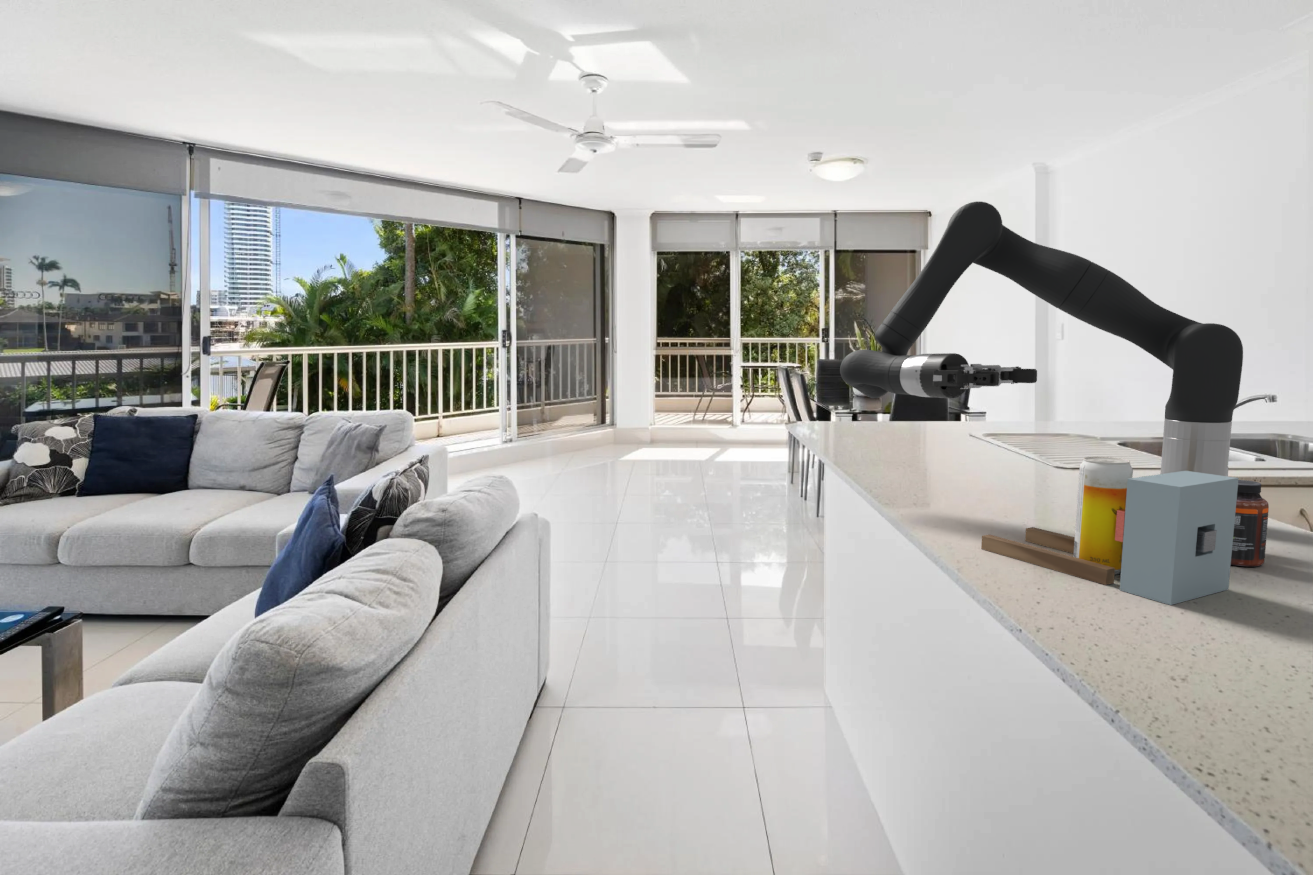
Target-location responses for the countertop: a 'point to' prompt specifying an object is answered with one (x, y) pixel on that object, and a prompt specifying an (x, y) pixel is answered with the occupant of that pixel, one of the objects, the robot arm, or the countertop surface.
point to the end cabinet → (1177, 535)
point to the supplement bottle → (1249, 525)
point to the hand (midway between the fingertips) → (1016, 377)
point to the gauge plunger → (1204, 535)
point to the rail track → (1049, 554)
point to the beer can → (1100, 509)
